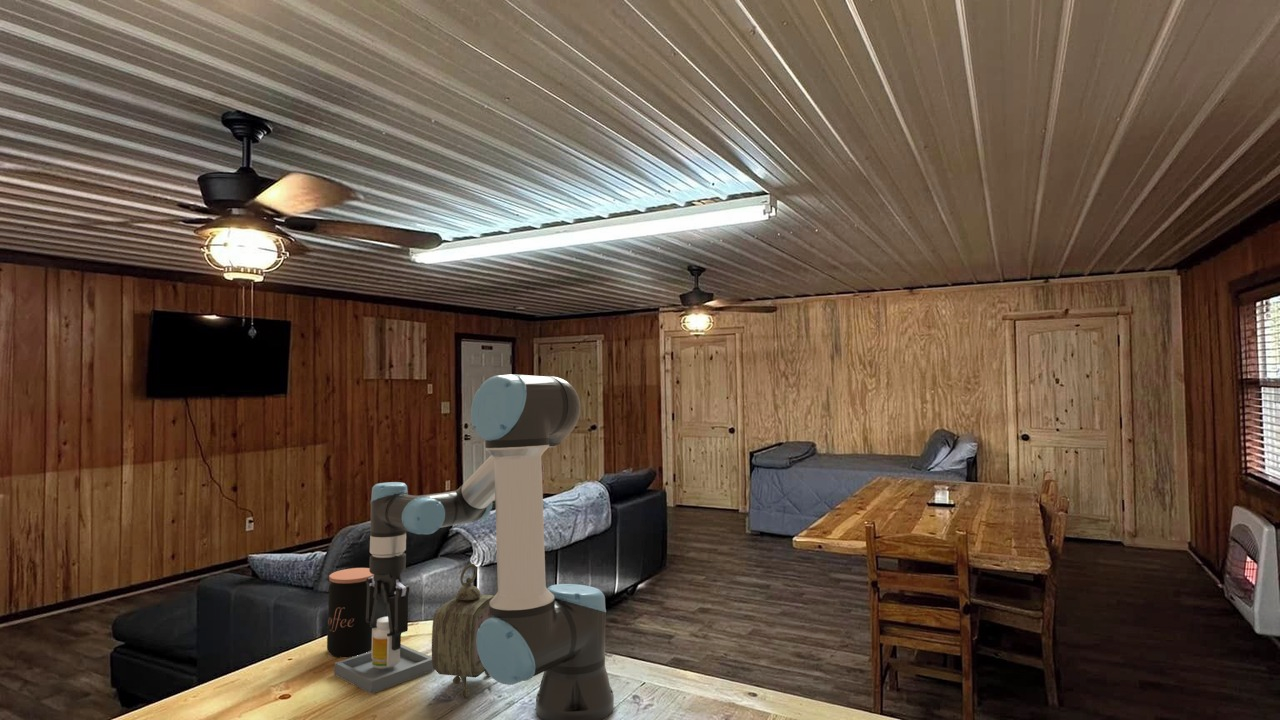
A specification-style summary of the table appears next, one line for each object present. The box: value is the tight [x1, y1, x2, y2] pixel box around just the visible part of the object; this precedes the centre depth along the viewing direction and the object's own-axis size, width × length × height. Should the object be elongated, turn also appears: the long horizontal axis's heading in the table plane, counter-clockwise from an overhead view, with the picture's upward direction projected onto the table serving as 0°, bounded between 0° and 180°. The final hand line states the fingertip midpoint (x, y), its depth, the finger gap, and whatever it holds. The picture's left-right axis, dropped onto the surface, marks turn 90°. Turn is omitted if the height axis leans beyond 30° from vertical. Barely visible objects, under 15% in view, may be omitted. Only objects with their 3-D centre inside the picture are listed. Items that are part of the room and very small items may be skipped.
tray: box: [333, 643, 436, 695], centre depth 144 cm, size 15×15×2 cm
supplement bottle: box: [372, 616, 396, 669], centre depth 144 cm, size 5×5×10 cm
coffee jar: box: [326, 567, 374, 658], centre depth 157 cm, size 11×11×18 cm
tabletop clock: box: [431, 563, 495, 698], centre depth 138 cm, size 14×9×25 cm, turn 168°
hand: (385, 660), depth 144 cm, fingers closed on supplement bottle, 5 cm apart
